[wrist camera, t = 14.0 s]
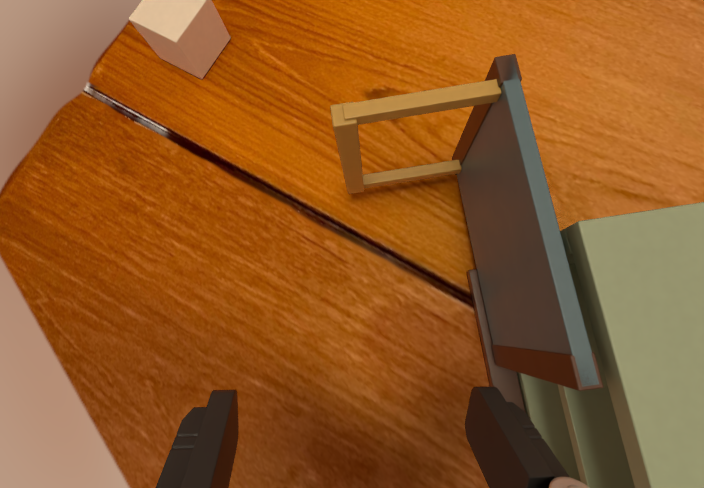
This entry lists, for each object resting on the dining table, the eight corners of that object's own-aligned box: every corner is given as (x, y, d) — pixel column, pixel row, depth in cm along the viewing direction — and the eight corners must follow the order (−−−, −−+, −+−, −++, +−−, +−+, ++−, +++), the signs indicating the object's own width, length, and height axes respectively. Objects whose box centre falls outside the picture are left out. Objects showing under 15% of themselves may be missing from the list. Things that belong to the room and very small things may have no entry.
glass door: (376, 382, 27) (375, 420, 16) (345, 174, 31) (326, 85, 19) (510, 363, 27) (604, 387, 16) (464, 155, 30) (515, 53, 19)
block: (202, 79, 34) (175, 42, 30) (159, 58, 35) (127, 18, 31) (231, 38, 35) (209, -5, 31) (189, 17, 36) (161, -27, 31)
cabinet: (516, 513, 26) (646, 687, 13) (466, 271, 30) (531, 228, 17) (670, 493, 26) (954, 652, 13) (601, 251, 29) (773, 190, 16)
